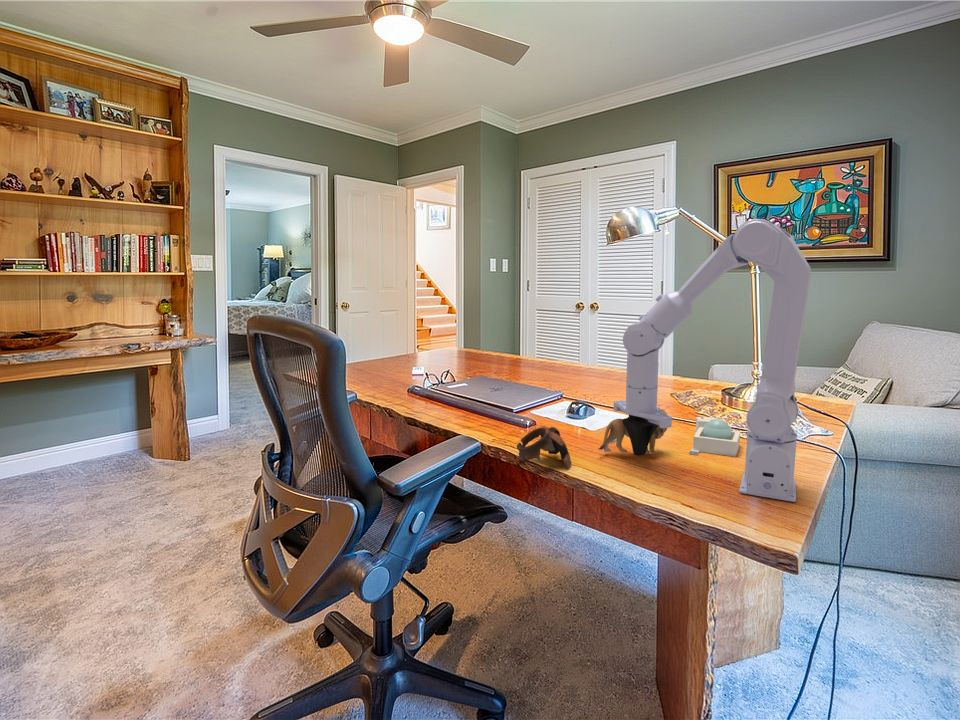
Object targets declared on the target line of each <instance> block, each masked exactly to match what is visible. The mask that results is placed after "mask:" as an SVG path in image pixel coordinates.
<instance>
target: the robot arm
mask: <svg viewBox="0 0 960 720" xmlns="http://www.w3.org/2000/svg"><path fill="white" fill-rule="evenodd" d="M750 263H751V264H754V265H756V266H758V267H760V269H761V270H762V271H764V273H766V274H767V276H768V277H769V278H770V279H772V280H773V282H774V284H773V293H772V299H771V305H770V306H771V307H770V313H769V314H770V315H769V320H768V328H767V336H766V342H765V349H764V356H763V363H762V364H763V365H762V369H761V377H760V381H759V384H758V387H757V390H756V394H755V395H756V396H755V400H754V403H753V404H752V406H750V408H749V409H748V411H747V414H746V419H745V421H746V424H747V426H748V429H747V431H746V448H745V450H746V451H745V463H744V472H743V473H742V476H741V480H740V481H741V482H740V485H739V489H738V490H739V493H740V494H745V495H751V496H756V497H757V496H758V497H763V498H770V499H773V500H774V499H775V500H780V501H786V502H791V503H792V502H793V503H795V502H797V486H796V485H797V483H796V480H795V466H796V455H797V454H796V453H797V440H798V434H797V432H796V431H795V430H794V428H793V427H792V424H793V423H794V422H795V421H796V420H797V418H798V415H799V406H798V403H797V402H796V397H795V395H796V394H795V393H796V381H795V379H796V375H797V373H796V372H797V367H798V361H799V355H800V348H801V341H802V333H803V328H804V322H805V315H806V307H807V303H808V302H807V301H808V296H809V295H808V294H809V290H810V289H809V288H810V282H811V275H812V269H811V266H810V264H809V263H808V261H807V259H806V258H805V256H804V254H803V253H802V251H801V250H800V248H799V246H798V245H797V242H796V241H795V239H794V236H793V235H791V234H790V233H789V232H787V231H786V230H785V229H783V228H782V227H781V226H780V225H778V224H775V223H772V222H770V221H768V220H766V219H762V218H754V219H753V218H752V219H750V220H747V221H744V223H742V224H741V225H740V226H738V228H737V229H736V231H735V232H734V234H733V233H731V234H730V235H729V236H727V237H726V238H725V239H724V240H723V241H722V242H721V243H720V244H719V245H718V246H717V248H716V249H715V250H714V251H713V252H712V253H711V254H710V255H709V256H708V257H707V259H706V260H705V261H704V262H703V263H702V264H701V265H700V266H698V268H697V269H696V270H695V272H694V273H693V274H692V275H691V276H689V278H688V279H687V281H685V283H684V284H683V285H682V286H681V287H680V288H679V289H678V291H667V292H666V293H665V294H659V295H658V296H656V298H655V301H656V303H655V304H654V305H653V306H652V307H651V308H650V309H649V310H648V311H647V312H646V313H645V314H641V315H640V316H639V317H638V319H637V320H638V321H639V322H638V323H637V322H636V323H633V324H631V325H629V326H628V327H627V328H626V330H625V331H624V334H623V337H622V343H623V346H624V349H625V350H626V352H627V357H626V379H625V380H626V381H625V382H626V383H625V386H626V387H625V400H615V401H613V411H615V412H621V413H622V414H623V413H624V414H627V415H628V417H627V418H625V417H624V418H622V419H623V424H624V425H625V427H626V429H627V431H628V434H629V437H630V438H629V437H628V438H629V440H630V443H631V448H632V453H633V455H634V456H636V457H640V456H645V455H646V454H647V453H646V450H647V447H648V448H649V441H650V439H651V436H652V434H653V433H654V431H655V430H656V428H657V427H658V425H659V427H661V428H667V429H669V428H672V425H673V424H672V423H673V422H672V421H673V418H672V416H670V415H668V414H667V415H666V414H664V413H663V412H661V411H660V409H661V406H658V383H659V381H658V380H659V379H658V378H659V350H660V349H661V348H662V347H663V345H664V343H665V339H666V338H668V337H669V336H670V335H671V334H673V332H674V331H676V330H677V328H679V326H680V325H681V324H682V323H684V322H685V321H686V320H687V319H688V318H689V317H691V315H692V313H693V303H694V302H695V301H696V300H698V298H699V297H701V295H703V294H704V293H705V292H706V291H707V290H708V289H709V288H710V287H712V286H713V285H714V284H715V283H716V281H718V280H719V279H720V278H721V277H723V275H725V274H726V273H727V272H728V271H731V270H733V269H737V268H740V267H744V266H747V265H749V264H750Z"/></svg>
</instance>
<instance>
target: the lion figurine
mask: <svg viewBox="0 0 960 720" xmlns="http://www.w3.org/2000/svg"><path fill="white" fill-rule="evenodd" d="M660 411H661V412H663V413H664V414H666V415H668V412H666V411H665V410H664V409H661V408H660ZM623 419H624V418H615V419H613V420H611V421H610V422H609V423H608V425H607V427H606V429H605V432H604V437H603V442H602V445H601V446H600V447H598V450H599V451H600V450H603V452H605V453H606V452H608V453H609V452H611V448H609V445H610V444H612V443H611V442H612V441H614V440H615V439H617V440H616V441H615V442H616V443H615V446H616V448H617V449H618V451H619V452H620V453H628V450H627V449H625V448H624V447H623V446H622V443H623V440H624V437H625V436H626V437H627V438H629V439H630V437H629V434H628V431H627V429H626V427H625V425H624V424H623ZM667 430H668V428H661V427H659V425H658V427H657V428H656V430H655V431H654V433H653V434H652V436H651V439H650V441H649V444H648V447H647V450H646V454H650V453H651V454H655V455H657V454H658V451H656V450H655V446H656V440H659V439H661V438H662V437H663V436H664V434H665V433H666V432H667Z"/></svg>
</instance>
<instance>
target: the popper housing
mask: <svg viewBox="0 0 960 720" xmlns="http://www.w3.org/2000/svg"><path fill="white" fill-rule="evenodd" d="M703 435H704V427H699V429H698V430H697V432H696V431H695V434H694V435H693V438H692V439H693V441H692V442H693V443H692V448H693V449H694V450H699V453H706V454H712V455H713V454H714V455H722V456H728V457H737V455H738V451H739V449H740V446H741V431H738V430H736V431H735V430H731V440H726V439H718V438H710V437H703Z"/></svg>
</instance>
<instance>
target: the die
mask: <svg viewBox="0 0 960 720" xmlns="http://www.w3.org/2000/svg"><path fill="white" fill-rule="evenodd" d="M713 419H717V418H716V417H709V416H696V417H695V420H696V421H695V433H696V432H697V430H698V429H699V427H704V424H707V423H708V422H709V421H711V420H713Z"/></svg>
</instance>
